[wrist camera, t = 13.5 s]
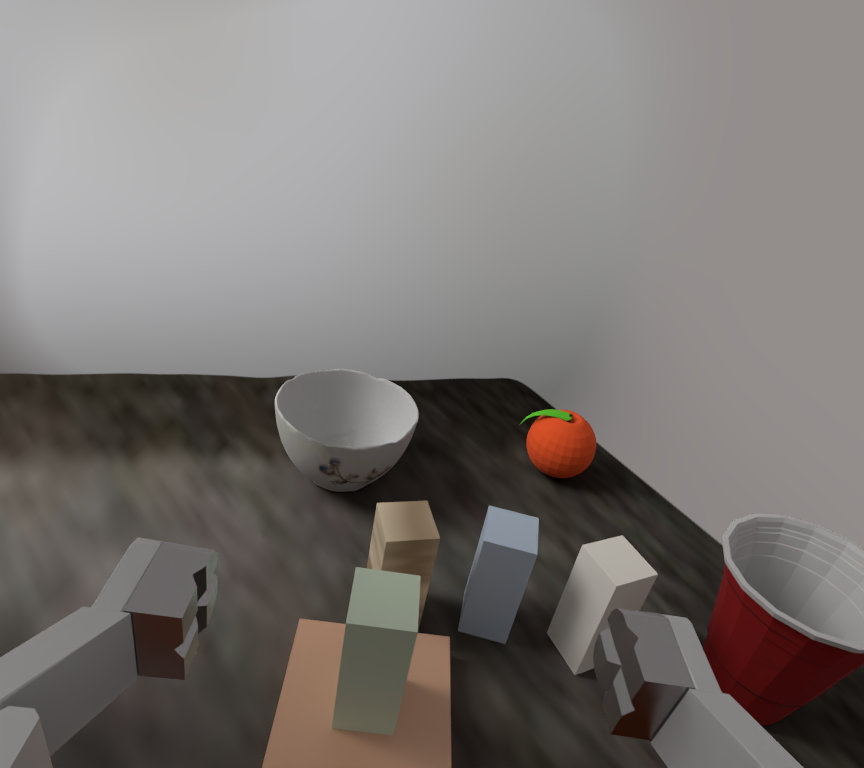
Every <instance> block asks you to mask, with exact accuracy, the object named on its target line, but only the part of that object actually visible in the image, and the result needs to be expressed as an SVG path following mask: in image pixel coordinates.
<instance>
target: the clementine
mask: <svg viewBox="0 0 864 768" xmlns="http://www.w3.org/2000/svg"><path fill="white" fill-rule="evenodd" d="M539 415H542V416H540V417H539V418H538V419H537V420H536V421H535V422H534V423H533V424H532V426H531V428H530V430H529V433H528V435H527V442H526V443H527V451H528V455H529V457H530V459H531V461H532V462H533V464H534V465H535V466H536V468H538V469H539V470H540V471H541V472H543V473H545V474H546V475H548V476H551V477H555V478H570V477H573V476H575V475H578V474H580V473H582V472H583V471H584V470H585V469H586V468H587V467H588V466H589V465H590V463H591V462H592V460H593V458H594V455H595V450H596V438H595V434H594V432H593V430H592V428H591V426H590V424H589V423H588V422H587V421H586V420H584V418H583V417H581V416H580V415H578V414H577V413H575V412H572V411H568V410H542V411H538V412H535V413H532V414H530V415H529V416H527V417H526V418H525V419H524V420H526V419H527V418H530V417H532V416H539ZM524 420H523V421H524ZM523 421H522V422H523ZM522 422H521V423H522ZM521 423H520V424H521Z"/></svg>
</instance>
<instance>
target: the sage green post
mask: <svg viewBox="0 0 864 768" xmlns="http://www.w3.org/2000/svg"><path fill="white" fill-rule="evenodd" d="M420 579H421V576H419V575H411V574H404V573H396V572H389V571H381V570H374V569H367V568H359V567H356V570H355V575H354V581H353V586H352V592H351V598H350V603H349V609H348V614H347V620H346V626H345V634H344V641H343V648H342V655H341V663H340V670H339V677H338V685H337V692H336V699H335V706H334V714H333V721H332V728H333V729H342V730H350V731H359V732H368V733H376V734H385V735H393V736H394V732H395V727H396V723H397V719H398V715H399V710H400V706H401V702H402V698H403V693H404V689H405V685H406V680H407V676H408V672H409V668H410V663H411V659H412V655H413V651H414V646H415V642H416V638H417V633H418V618H419V599H420Z"/></svg>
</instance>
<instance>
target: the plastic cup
mask: <svg viewBox="0 0 864 768" xmlns="http://www.w3.org/2000/svg"><path fill="white" fill-rule="evenodd" d="M722 543H723V551H724V558H725V567H724V571H723V575H724V576H723V580H722V583H721V586H720V590H719V593H718V596H717V600H716V603H715V607H714V610H713V613H712V617H711V620H710V623H709V627H708V635H707V638H706V641H705V644H704V647H703V651H704V653H705V655H706V657H707V660H708V662H709V664H710V667H711V669H712V671H713V673H714V676H715V678H716V680H717V682H718V685H719V687H720V689H721V692H722V693H725V694H729V695H730V696H731V697H732V698H733V699H734V700H735V701H736V702H738V703H739V704H740V705H741V706H742V707H743V708H744V709H745V710H746V711H747V712H748V713H749V714H750V715H751V716H752V717H753V718H754V719H755V720H756V721H757V722H758V723H759V724H760V725H768V726H769V725H770V724H772V723H776V722H778V721H780V720H782V719H784V718H785V717H787V716H788V715H790V714H791V713H793V712H794V711H795V710H797V709H798V708H800V707H801V706H803V705H805V704H807V703H809V702H811V701H812V700H814V699H815V698H817V697H818V696H820V695H821V694H822V693H824V692H825V691H827V690H828V689H829V688H831V687H832V686H834V685H835V684H836V683H838V682H839V681H841V680H842V679H843V678H845V677H846V676H848V675H849V674H850V673H852V672H853V671H855V670H856V669H857V668H859V667H860V666H862V665H864V549H863V548H862V547H860V546H859V545H857V544H856V543H854V542H853V541H851V540H850V539H848V538H845V537H843V536H841V535H839V534H837V533H835V532H833V531H830V530H828V529H826V528H824V527H822V526H820V525H818V524H815V523H811V522H807V521H803V520H800V519H797V518H793V517H789V516H785V515H778V514H775V515H774V514H751V515H748V516H746V517H742V518H739V519H737V520H734V521H732V522H731V524H730V526H729V527H728V529H727V530H726V531H725V533H724V534H723V537H722Z"/></svg>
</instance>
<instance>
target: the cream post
mask: <svg viewBox="0 0 864 768" xmlns="http://www.w3.org/2000/svg"><path fill="white" fill-rule="evenodd" d="M657 576H658V574H657V572H656V571H655V570H654V569H653V568H652V567H651V566H650V565H649V564H648V563H647V562H646V560H645V559H644V558H643V557H642V556H641V555H640V554H639V553H638V552H637V551H636V550H635V549H634V547H633V546H632V545H631V544H630V543H629V542H628V541H627V540H626V539H625V538H624V537H623V535H622V536H618V537H614V538H610V539H606V540H602V541H597V542H593V543H589V544H585V545H582V547H581V550H580V552H579V554H578V557H577V559H576V562H575V564H574V567H573V569H572V572H571V574H570V577H569V579H568V582H567V584H566V587H565V589H564V591H563V594H562V596H561V599H560V601H559V604H558V606H557V609H556V611H555V614H554V616H553V619H552V621H551V624H550V626H549V629H548V631H547V634H548V636H549V637H550V639H551V640H552V642H553V643H554V645H555V646H556V648H557V649H558V651H559V652H560V654H561V655H562V657H563V658H564V660H565V661H566V663H567V664H568V666H569V667H570V669H571V670H572V672H573V674H574V675H577V674H580V673H583V672H586V671H588V670H591V669H594V661H593V653H594V646H595V642H596V640H597V638H598V635H599V633H600V632H602V631H604V630H605V629H607V628H609V623H608V620H607V618H608V617H609V615H610V613H611V611H613V610H614V609H616V608H621V609H628V610H636V611H640V609H641V607H642V605H643V603H644V601H645V599H646V597H647V595H648V593H649V591H650V589H651V587H652V585H653V583H654V581H655V579H656V577H657Z"/></svg>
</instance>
